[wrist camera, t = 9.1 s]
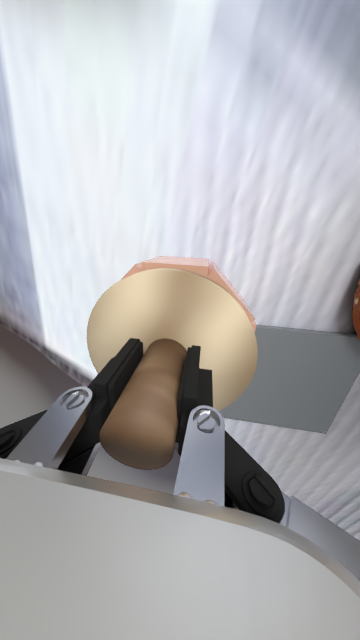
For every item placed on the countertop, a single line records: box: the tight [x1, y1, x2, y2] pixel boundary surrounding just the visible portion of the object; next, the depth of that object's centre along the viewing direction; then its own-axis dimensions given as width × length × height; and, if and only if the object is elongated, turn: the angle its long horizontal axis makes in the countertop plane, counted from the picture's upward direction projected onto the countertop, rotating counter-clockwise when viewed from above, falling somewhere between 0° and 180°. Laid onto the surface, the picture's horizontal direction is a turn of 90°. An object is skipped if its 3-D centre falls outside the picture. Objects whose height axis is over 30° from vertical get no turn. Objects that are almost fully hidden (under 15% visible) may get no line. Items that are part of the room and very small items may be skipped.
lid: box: [87, 268, 258, 470], centre depth 10 cm, size 11×11×6 cm
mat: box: [219, 325, 360, 434], centre depth 19 cm, size 12×12×1 cm
